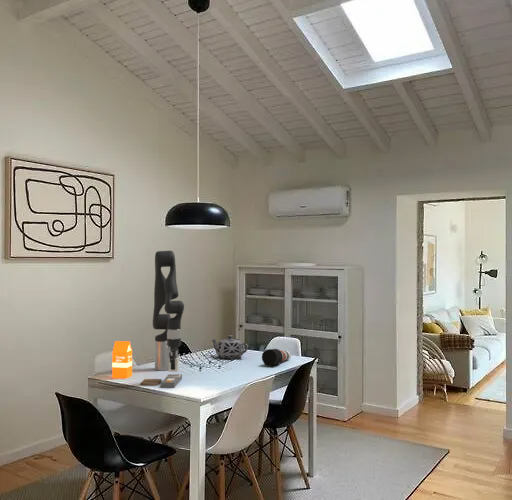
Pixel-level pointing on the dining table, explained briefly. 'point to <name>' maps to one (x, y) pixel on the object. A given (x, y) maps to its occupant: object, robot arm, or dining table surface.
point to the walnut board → (150, 382)
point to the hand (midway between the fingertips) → (173, 368)
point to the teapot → (229, 348)
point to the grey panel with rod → (171, 380)
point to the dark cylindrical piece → (275, 356)
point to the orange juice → (122, 360)
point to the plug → (175, 365)
